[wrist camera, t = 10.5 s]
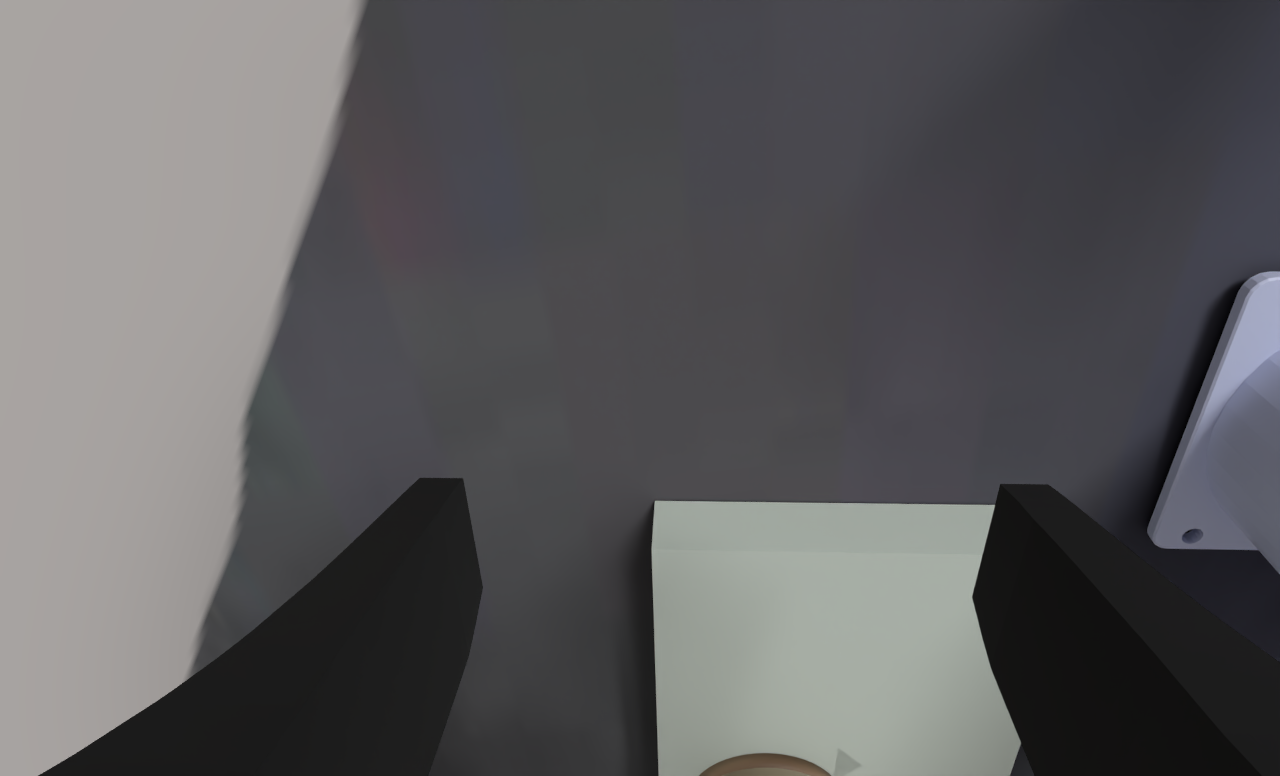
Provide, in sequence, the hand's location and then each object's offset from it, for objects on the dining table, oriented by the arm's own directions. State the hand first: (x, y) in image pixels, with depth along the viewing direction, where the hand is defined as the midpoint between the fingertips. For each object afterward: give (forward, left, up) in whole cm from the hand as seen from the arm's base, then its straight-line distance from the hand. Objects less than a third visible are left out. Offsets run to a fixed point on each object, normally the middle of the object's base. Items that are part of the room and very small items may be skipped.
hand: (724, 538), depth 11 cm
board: (-4, +16, -9) cm, 19 cm away
